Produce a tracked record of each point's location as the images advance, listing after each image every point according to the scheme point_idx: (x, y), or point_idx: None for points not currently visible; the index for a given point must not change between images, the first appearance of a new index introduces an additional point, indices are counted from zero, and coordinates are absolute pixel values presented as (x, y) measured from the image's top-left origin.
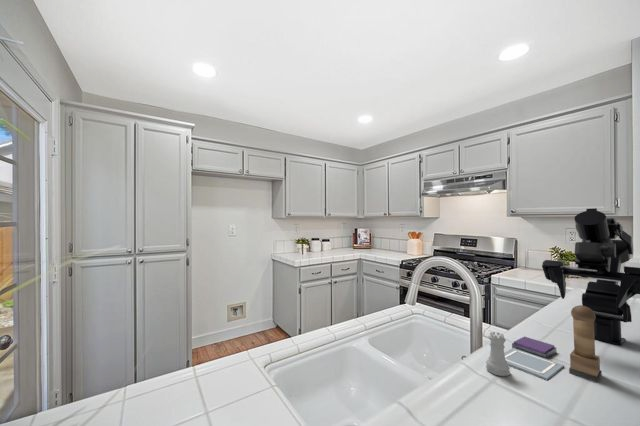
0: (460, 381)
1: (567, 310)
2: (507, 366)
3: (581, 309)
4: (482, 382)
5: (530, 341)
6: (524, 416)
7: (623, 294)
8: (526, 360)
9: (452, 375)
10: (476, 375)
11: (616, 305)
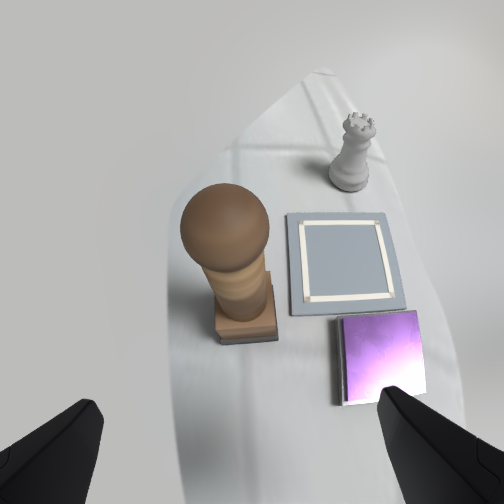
0: None
1: None
2: (333, 165)
3: (220, 184)
4: (333, 138)
5: (398, 362)
6: (263, 119)
7: (24, 437)
8: (350, 259)
9: None
10: None
11: (94, 402)
